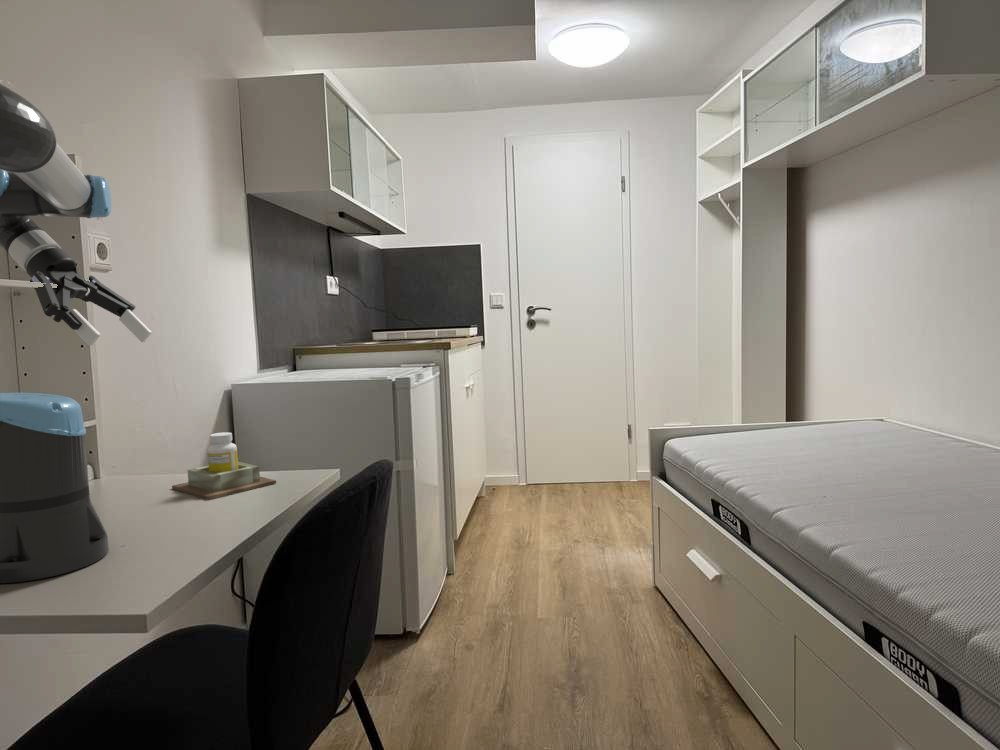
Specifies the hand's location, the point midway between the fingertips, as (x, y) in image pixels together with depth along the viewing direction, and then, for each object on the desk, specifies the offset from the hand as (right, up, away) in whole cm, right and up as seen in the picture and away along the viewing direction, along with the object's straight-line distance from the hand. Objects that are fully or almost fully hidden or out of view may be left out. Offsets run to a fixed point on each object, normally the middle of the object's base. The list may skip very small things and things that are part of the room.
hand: (122, 338), depth 123 cm
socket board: (+16, -29, +7) cm, 34 cm away
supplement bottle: (+16, -28, +7) cm, 33 cm away
